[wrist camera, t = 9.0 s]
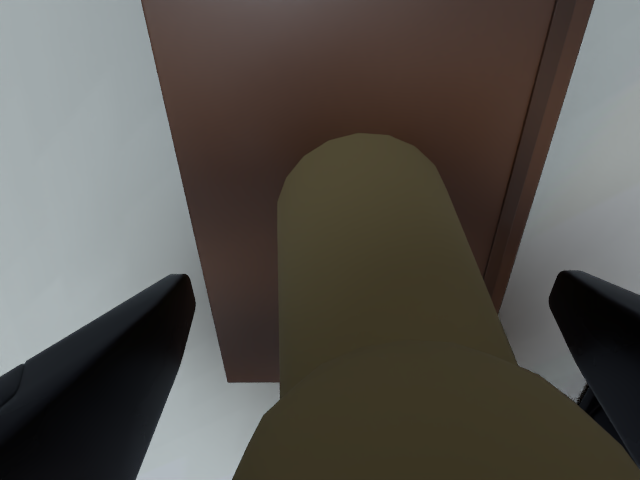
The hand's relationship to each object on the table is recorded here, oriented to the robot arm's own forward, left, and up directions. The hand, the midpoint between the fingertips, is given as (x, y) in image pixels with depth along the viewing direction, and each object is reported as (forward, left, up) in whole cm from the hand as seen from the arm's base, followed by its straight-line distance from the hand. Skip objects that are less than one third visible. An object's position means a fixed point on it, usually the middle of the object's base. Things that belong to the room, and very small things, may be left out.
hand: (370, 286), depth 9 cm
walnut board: (0, 0, -6) cm, 6 cm away
